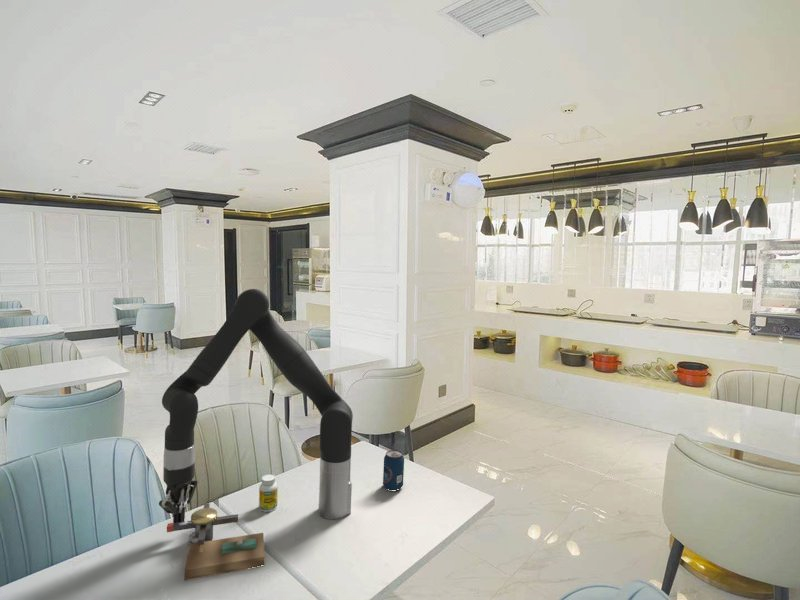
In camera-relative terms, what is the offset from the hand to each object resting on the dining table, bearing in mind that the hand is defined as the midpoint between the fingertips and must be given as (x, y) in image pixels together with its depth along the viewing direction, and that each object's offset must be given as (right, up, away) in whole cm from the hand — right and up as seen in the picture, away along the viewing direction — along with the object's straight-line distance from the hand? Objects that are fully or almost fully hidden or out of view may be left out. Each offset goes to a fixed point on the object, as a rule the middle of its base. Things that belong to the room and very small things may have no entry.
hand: (178, 523), depth 118 cm
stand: (+16, -5, -8) cm, 18 cm away
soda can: (+57, -4, +31) cm, 65 cm away
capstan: (+7, -4, -1) cm, 8 cm away
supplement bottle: (+19, -4, +16) cm, 25 cm away
